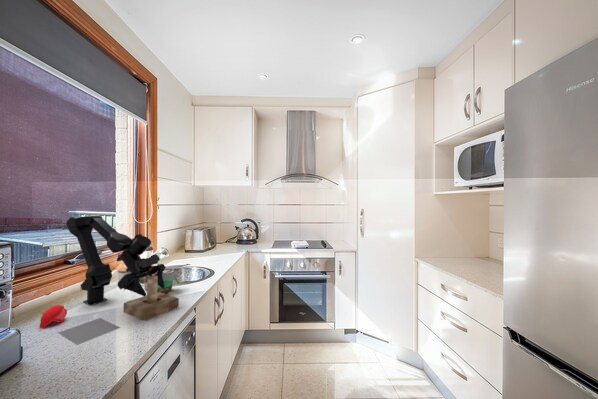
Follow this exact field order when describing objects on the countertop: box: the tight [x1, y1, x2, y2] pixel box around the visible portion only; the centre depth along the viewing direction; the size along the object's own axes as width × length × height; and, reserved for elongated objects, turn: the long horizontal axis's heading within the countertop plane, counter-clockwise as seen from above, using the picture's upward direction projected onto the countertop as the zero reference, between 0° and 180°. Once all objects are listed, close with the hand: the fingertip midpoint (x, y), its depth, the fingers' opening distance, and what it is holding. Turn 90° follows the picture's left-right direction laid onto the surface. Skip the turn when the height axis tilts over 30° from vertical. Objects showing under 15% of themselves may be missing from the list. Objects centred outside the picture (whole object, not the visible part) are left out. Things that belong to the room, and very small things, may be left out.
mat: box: [57, 317, 121, 346], centre depth 84 cm, size 14×12×1 cm
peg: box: [146, 276, 158, 304], centre depth 101 cm, size 4×4×14 cm
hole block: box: [122, 292, 180, 321], centre depth 101 cm, size 14×14×4 cm
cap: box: [39, 304, 68, 329], centre depth 88 cm, size 8×6×6 cm
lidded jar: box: [117, 265, 131, 281], centre depth 134 cm, size 11×11×9 cm
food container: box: [148, 268, 176, 295], centre depth 119 cm, size 12×6×10 cm, turn 148°
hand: (155, 291), depth 101 cm, fingers open, 9 cm apart
